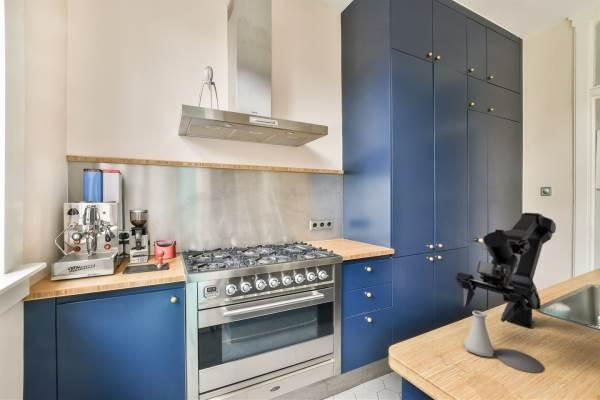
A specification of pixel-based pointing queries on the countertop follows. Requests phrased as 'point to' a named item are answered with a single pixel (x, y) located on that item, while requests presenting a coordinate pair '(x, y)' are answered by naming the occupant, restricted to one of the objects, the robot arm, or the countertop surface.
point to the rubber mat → (519, 360)
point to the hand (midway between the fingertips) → (482, 314)
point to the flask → (478, 336)
